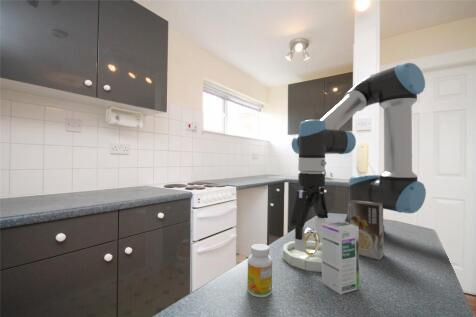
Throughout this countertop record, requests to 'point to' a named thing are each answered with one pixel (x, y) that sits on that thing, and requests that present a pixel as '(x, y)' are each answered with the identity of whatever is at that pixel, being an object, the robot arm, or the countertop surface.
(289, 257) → the ring dish
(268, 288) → the supplement bottle
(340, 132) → the robot arm
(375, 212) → the coffee box
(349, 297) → the countertop surface
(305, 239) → the ring
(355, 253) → the syrup box
